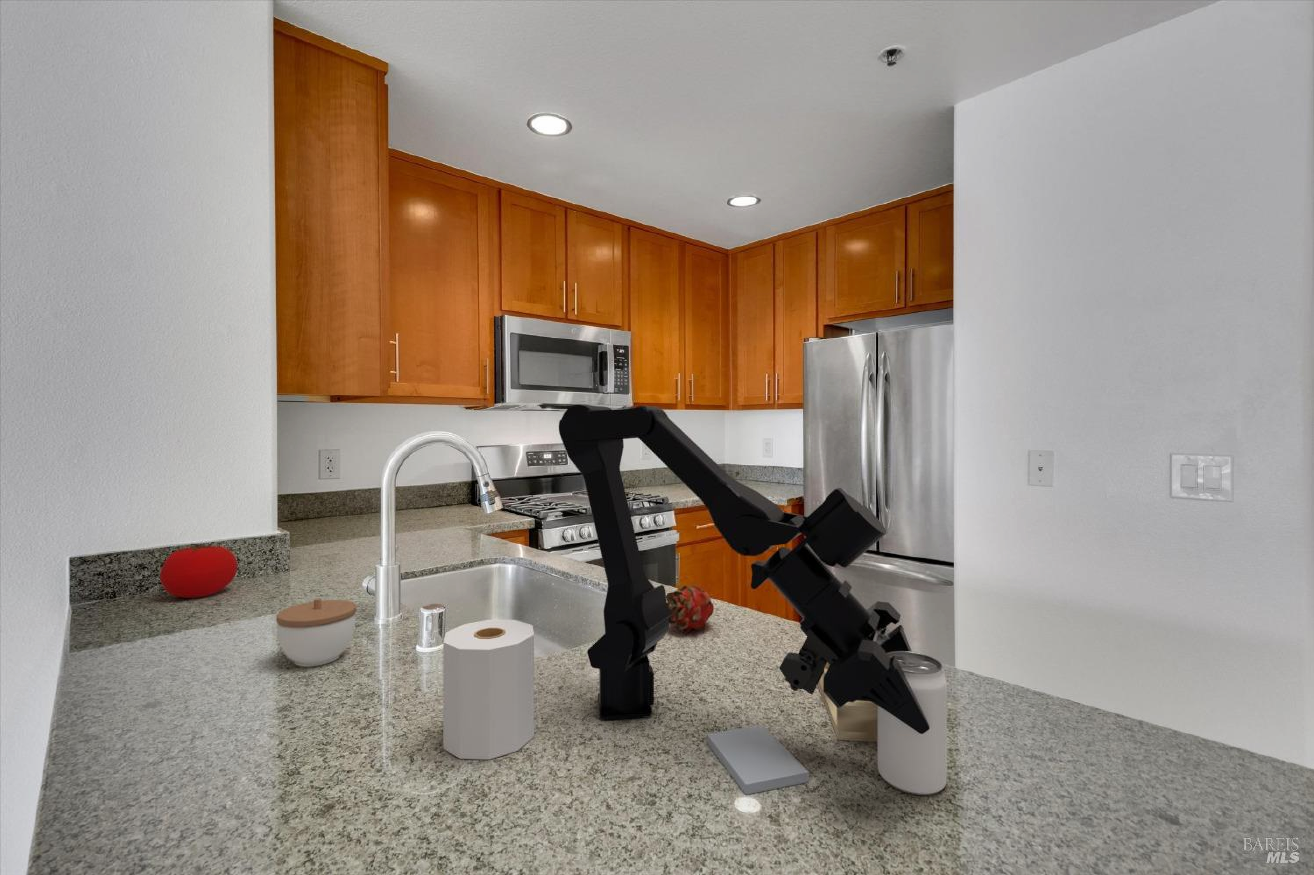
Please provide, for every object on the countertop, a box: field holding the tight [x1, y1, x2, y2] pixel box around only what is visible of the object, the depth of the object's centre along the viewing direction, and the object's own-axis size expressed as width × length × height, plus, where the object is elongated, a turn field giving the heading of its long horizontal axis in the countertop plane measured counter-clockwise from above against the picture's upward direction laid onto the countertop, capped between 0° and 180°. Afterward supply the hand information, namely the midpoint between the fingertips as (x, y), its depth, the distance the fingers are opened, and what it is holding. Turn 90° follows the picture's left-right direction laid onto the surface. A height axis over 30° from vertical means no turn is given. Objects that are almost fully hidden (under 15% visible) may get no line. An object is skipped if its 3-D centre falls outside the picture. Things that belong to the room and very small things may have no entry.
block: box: [706, 724, 810, 796], centre depth 63 cm, size 7×10×1 cm
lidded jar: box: [276, 597, 357, 668], centre depth 90 cm, size 11×11×9 cm
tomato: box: [159, 543, 239, 599], centre depth 126 cm, size 12×13×11 cm
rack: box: [816, 662, 878, 743], centre depth 76 cm, size 10×19×4 cm, turn 174°
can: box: [877, 651, 948, 796], centre depth 60 cm, size 6×6×12 cm
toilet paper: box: [442, 619, 535, 760], centre depth 68 cm, size 10×10×12 cm
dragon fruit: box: [666, 584, 715, 634], centre depth 105 cm, size 8×8×12 cm
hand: (926, 716), depth 59 cm, fingers closed on can, 6 cm apart
